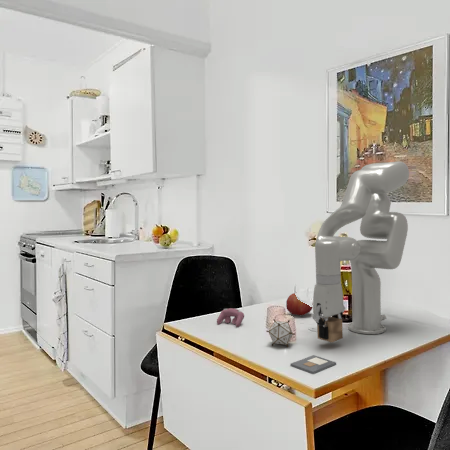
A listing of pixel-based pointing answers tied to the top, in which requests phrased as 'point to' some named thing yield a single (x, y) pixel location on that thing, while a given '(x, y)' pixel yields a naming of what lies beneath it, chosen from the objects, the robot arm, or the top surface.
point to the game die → (280, 332)
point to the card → (313, 364)
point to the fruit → (297, 306)
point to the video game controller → (226, 315)
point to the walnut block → (333, 329)
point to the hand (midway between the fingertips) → (330, 335)
